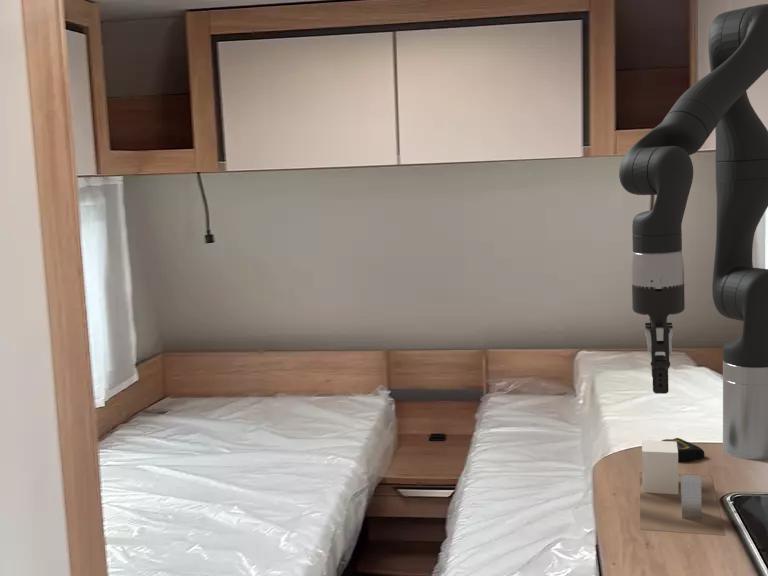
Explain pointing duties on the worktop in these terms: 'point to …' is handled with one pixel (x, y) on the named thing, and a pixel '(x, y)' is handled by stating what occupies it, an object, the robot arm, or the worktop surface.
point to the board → (667, 516)
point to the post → (691, 496)
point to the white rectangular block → (660, 467)
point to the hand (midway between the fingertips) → (659, 385)
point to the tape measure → (687, 450)
